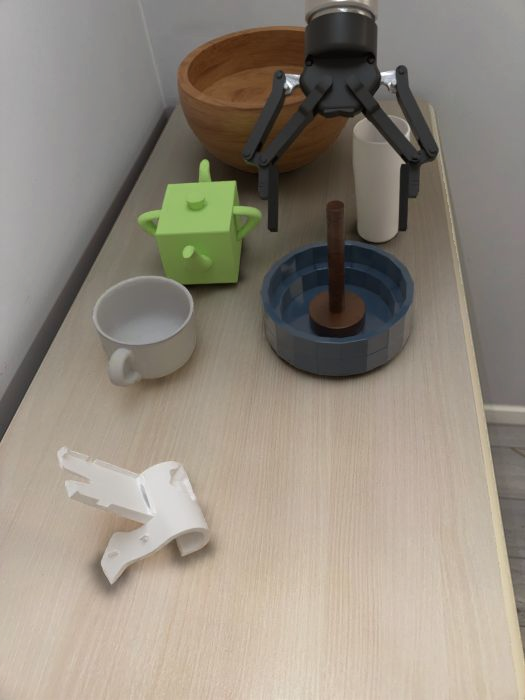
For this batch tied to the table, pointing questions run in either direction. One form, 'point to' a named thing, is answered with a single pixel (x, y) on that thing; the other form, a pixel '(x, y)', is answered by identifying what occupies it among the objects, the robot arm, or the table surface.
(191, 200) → the teapot
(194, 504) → the plastic part
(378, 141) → the drinking glass
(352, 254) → the mixing bowl
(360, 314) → the wooden stand
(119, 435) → the table surface
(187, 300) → the teacup
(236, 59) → the bowl
